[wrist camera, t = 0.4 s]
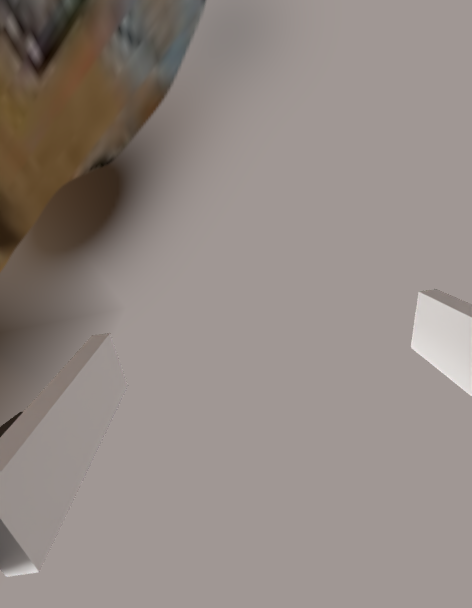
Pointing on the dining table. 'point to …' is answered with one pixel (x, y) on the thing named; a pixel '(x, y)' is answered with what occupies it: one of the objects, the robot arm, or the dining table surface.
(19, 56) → the dining table surface
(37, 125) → the dining table surface
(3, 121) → the dining table surface
